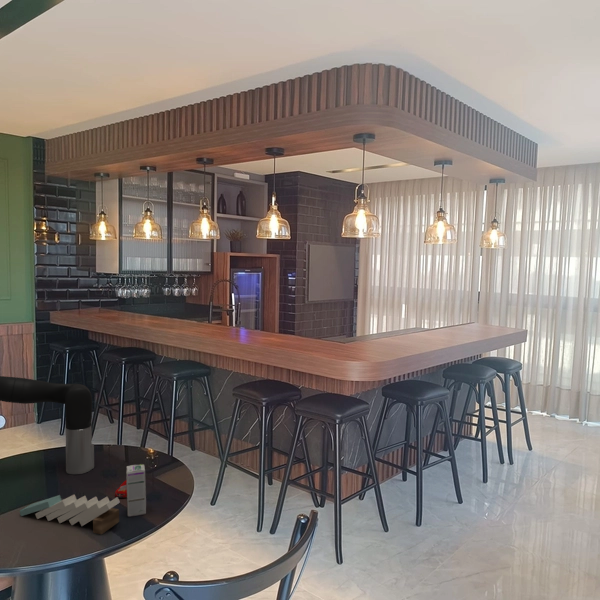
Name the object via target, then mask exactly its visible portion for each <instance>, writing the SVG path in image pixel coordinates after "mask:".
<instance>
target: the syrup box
mask: <svg viewBox="0 0 600 600" xmlns="http://www.w3.org/2000/svg"><path fill="white" fill-rule="evenodd" d="M145 468H146V467H145V463H144V464H143V463H140V464H131V465H127V466H126V471H125V472H126V480H127V497H126V506H127V507H126V510H127V517H135V516H142V515H143V516H144V515H147V498H146V497H147V487H146V469H145Z"/></svg>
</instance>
